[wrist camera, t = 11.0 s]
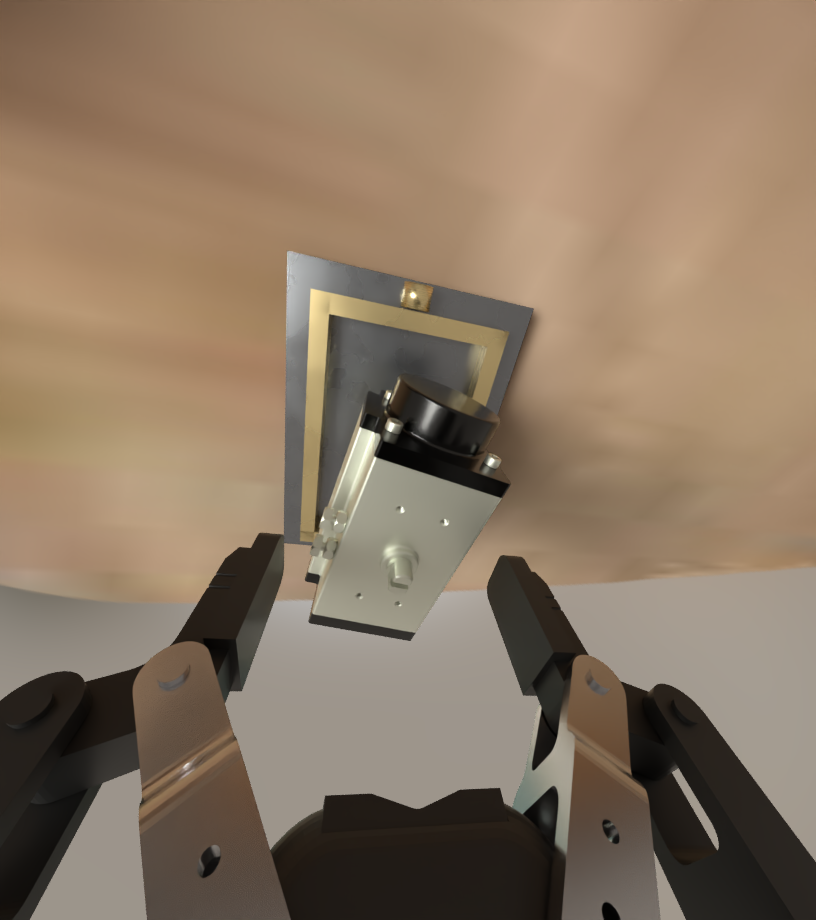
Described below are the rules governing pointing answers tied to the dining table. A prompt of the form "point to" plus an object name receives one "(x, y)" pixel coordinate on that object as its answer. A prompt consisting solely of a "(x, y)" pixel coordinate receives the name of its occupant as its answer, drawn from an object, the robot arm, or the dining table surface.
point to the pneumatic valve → (404, 508)
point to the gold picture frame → (375, 363)
